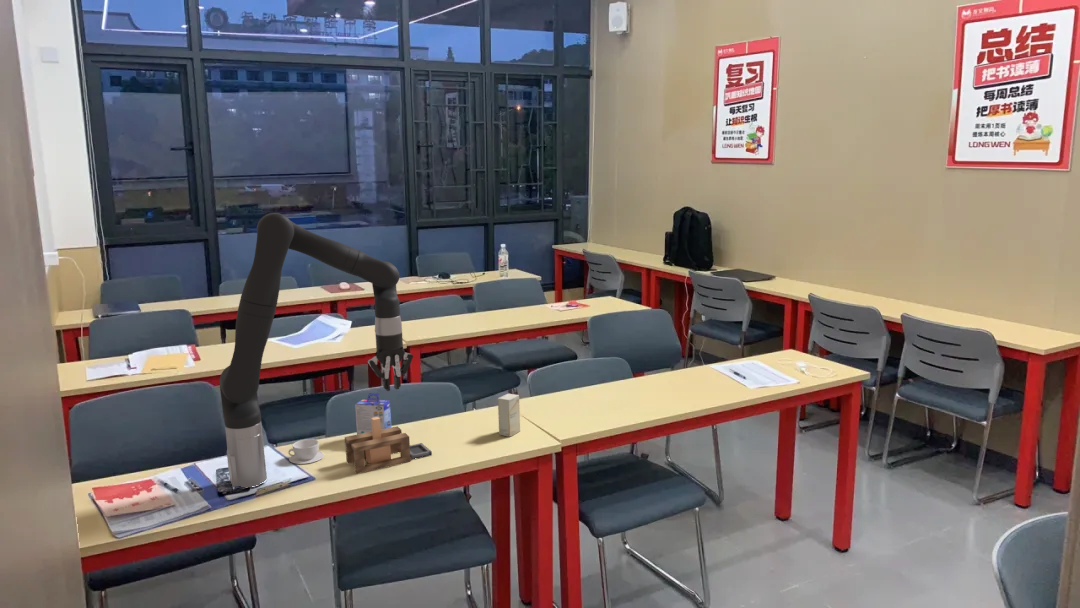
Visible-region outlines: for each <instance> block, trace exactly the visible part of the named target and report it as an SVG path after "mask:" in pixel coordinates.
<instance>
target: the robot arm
mask: <svg viewBox="0 0 1080 608" xmlns="http://www.w3.org/2000/svg"><path fill="white" fill-rule="evenodd" d="M255 242H256V244H255V251H254V257H253V262H252V265H251V268H250V271H249V272H248V276H247V277H246V280H245V283H244V286H243V289H242V291H241V295H240V299H239V303H238V306H237V307H238V308H237V313H236V319H235V320H236V321H235V333H234V334H235V335H234V337H235V338H234V348H233V353H232V357H231V361H230V364H229V365H228V366H226V367H225V368H224V369H223V371H222V372H221V373H220V376H219V392H220V399H221V408H222V414H223V420H224V422H223V423H224V429H225V439H226V447H227V450H226V460H227V468H228V477H229V482H230V481H231V483H232V485H233V487H235V486H241V487H252V486H256V485H259V484H260V483H262V482H264V481H265V480H266V479H267V480H268V477H267V476H268V475H267V468H266V466H267V465H266V455H265V446H264V445H265V444H264V436H263V426H262V415H261V410H260V404H259V398H258V391H259V388H260V386H259V385H260V376H261V368H262V362H263V357H264V351H265V350H266V349H265V348H266V345H267V342H268V339H269V336H270V332H271V328H272V325H273V321H274V318H275V313H276V310H277V305H278V300H279V295H280V287H281V279H282V278H281V277H282V270H283V267H284V263H285V260H286V257H287V254H288V251H289V250H291V251H295V252H299V253H302V254H303V255H306V256H309V257H311V258H313V259H315V260H317V261H320V262H321V263H323V264H325V265H328V266H330V267H331V268H334V269H336V270H339V271H341V272H343V273H346V274H348V275H352V276H354V277H357V278H361V279H362V280H364V281H366V282H369V283H370V284H372V291H373V296H374V297H373V298H374V299H373V300H374V314H375V315H374V318H375V319H374V335H375V348H376V351H375V355H374V356H373V357H372V358H369V359H367V360H366V362H367V363H368V365H369V366H370V368H371V370H372V371H373V372H374V374H375V375H376V377H378V378H380V379H382V386H383V389H384V390H385V391H387V392H390V391H391V385H390V378H389V377H390V376H389V375H390V370H391V368H390V367H392V369H393V374H394V375H393V385H394V386H393V387H394V389H395V390H399V389H400V388H401V386H402V383H401V381H402V380H401V376H402V375H405V374H407V372H408V370H409V367H410V365H411V363H412V360H413V358H414V355H413V354H412V353H409V352H406V351H405V349H404V343H403V342H404V341H403V340H404V339H403V327H402V326H403V325H402V318H401V307H400V304H401V303H400V299H399V297H398V293H397V285H398V283H399V280H400V272H399V270H398V268H397V267H396V266H395V265H394V264H393V263H391V262H390V261H387V260H380V259H378V258H375V257H372V256H370V255H368V254H367V253H365V252H363V251H361V250H359V249H356V248H354V247H351V246H349V245H347V244H344V243H342V242H339V241H335V240H332V239H330V238H328V237H324V236H322V235H320V234H319V235H318V234H316V233H314V232H312V231H310V230H307V229H305V228H304V227H301V226H300V225H298V224H297V223H295V222H293V221H291V220H290V219H289V218H288V217H287V216H286V215H285V214H281V213H279V212H270V213H267V214H265V215H262V217H261V218H260V219H259V221H258V222H257V225H256V241H255ZM402 359H403V361H402ZM401 361H402V364H400V363H401ZM378 362H379V363H380V364H381V370H380V368H378V366H377V365H378ZM231 483H230V484H231Z"/></svg>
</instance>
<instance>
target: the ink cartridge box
mask: <svg viewBox="0 0 1080 608" xmlns="http://www.w3.org/2000/svg"><path fill="white" fill-rule="evenodd" d="M373 396H375V398H374V397H373ZM379 398H380V393H375V392H374V393H372V392H370V393H368V396H367V398H366V399H361V400H359V401H358V402H357V403H355V404H354V410H355V423H356V424H355V426H356V435H357V434H362V433H367V432H372V422H371V418H374V417H379V418H380V424H381V430H382V429H387V428H392V417H391V416H392V415H391V411H392V410H391V400H387V399H385V400H384V399H379Z"/></svg>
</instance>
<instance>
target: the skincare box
mask: <svg viewBox="0 0 1080 608" xmlns="http://www.w3.org/2000/svg"><path fill="white" fill-rule="evenodd" d="M497 407H498V408H497V409H498V412H497V413H498V415H497V416H498V434H499V436H505V437H512V436H514V435H516V434H518V433H520V432H521V411H520V395H519V394H514V393H506V394H504V395H502V396H499V397H497Z"/></svg>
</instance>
